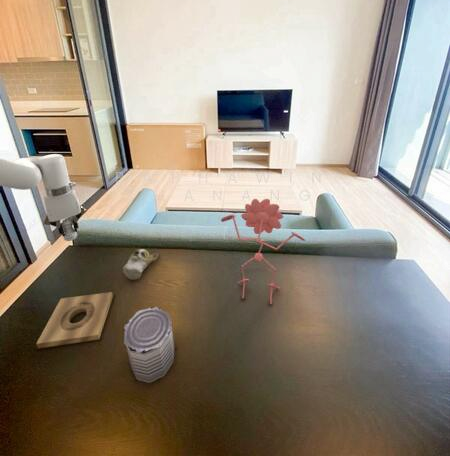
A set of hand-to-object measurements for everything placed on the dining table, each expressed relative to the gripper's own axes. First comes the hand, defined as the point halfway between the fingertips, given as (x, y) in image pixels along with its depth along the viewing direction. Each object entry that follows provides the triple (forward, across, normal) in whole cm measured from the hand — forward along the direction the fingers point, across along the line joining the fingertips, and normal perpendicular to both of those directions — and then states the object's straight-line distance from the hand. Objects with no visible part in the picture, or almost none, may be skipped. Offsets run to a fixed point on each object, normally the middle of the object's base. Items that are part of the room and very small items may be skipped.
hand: (69, 231), depth 92 cm
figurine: (+13, -49, +53) cm, 73 cm away
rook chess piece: (+3, 0, 0) cm, 3 cm away
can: (+14, -10, +52) cm, 55 cm away
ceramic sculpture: (+14, -19, +19) cm, 30 cm away
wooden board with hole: (+14, +3, +28) cm, 31 cm away
